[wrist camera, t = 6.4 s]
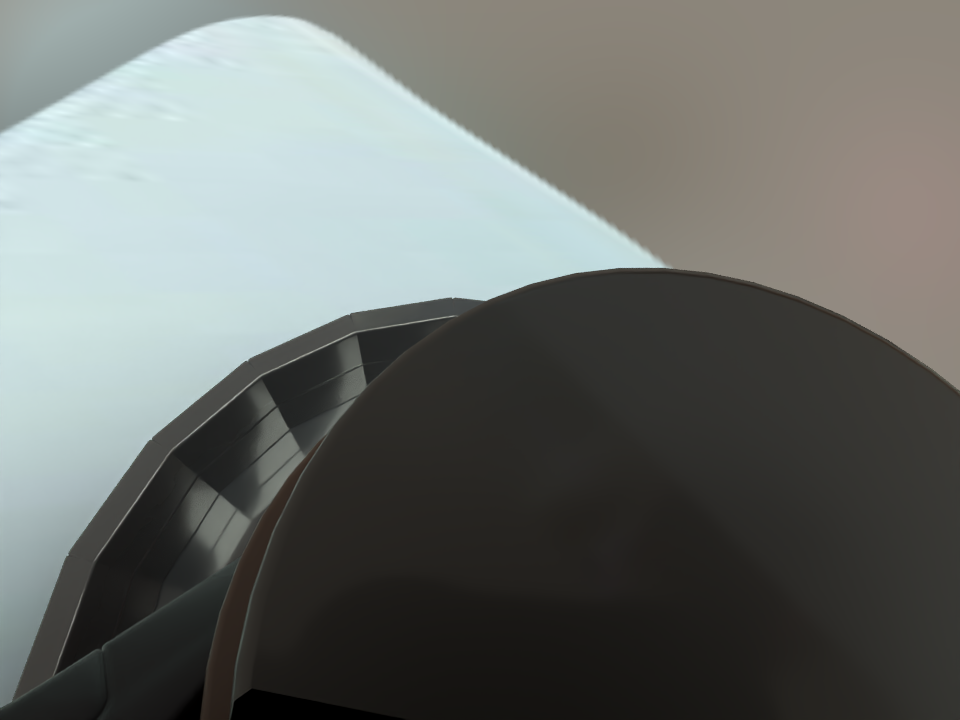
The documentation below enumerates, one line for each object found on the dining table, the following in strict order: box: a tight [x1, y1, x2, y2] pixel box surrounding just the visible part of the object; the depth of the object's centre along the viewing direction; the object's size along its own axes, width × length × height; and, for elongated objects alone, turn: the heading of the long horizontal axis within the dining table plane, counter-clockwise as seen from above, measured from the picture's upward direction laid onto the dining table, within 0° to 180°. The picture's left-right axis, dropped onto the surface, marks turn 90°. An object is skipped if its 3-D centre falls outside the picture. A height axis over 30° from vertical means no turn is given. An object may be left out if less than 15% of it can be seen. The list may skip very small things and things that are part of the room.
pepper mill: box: [200, 268, 960, 720], centre depth 8 cm, size 5×5×13 cm
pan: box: [12, 298, 486, 701], centre depth 13 cm, size 16×16×4 cm
